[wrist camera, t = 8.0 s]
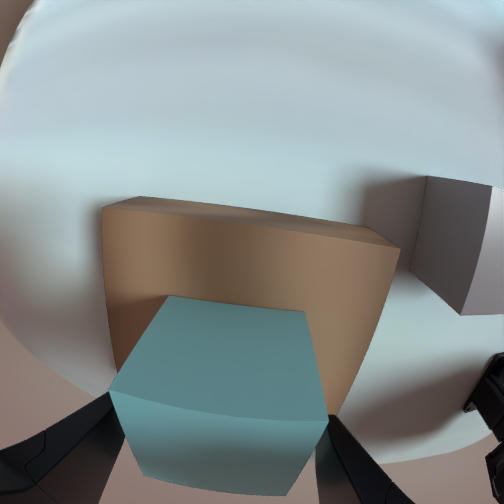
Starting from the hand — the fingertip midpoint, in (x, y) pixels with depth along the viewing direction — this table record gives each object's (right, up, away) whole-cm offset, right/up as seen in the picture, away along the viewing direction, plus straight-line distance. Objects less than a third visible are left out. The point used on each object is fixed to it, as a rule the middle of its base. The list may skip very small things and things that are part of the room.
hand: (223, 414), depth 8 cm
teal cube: (0, +1, +3) cm, 3 cm away
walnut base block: (0, +2, +7) cm, 7 cm away
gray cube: (+12, +6, +4) cm, 14 cm away
